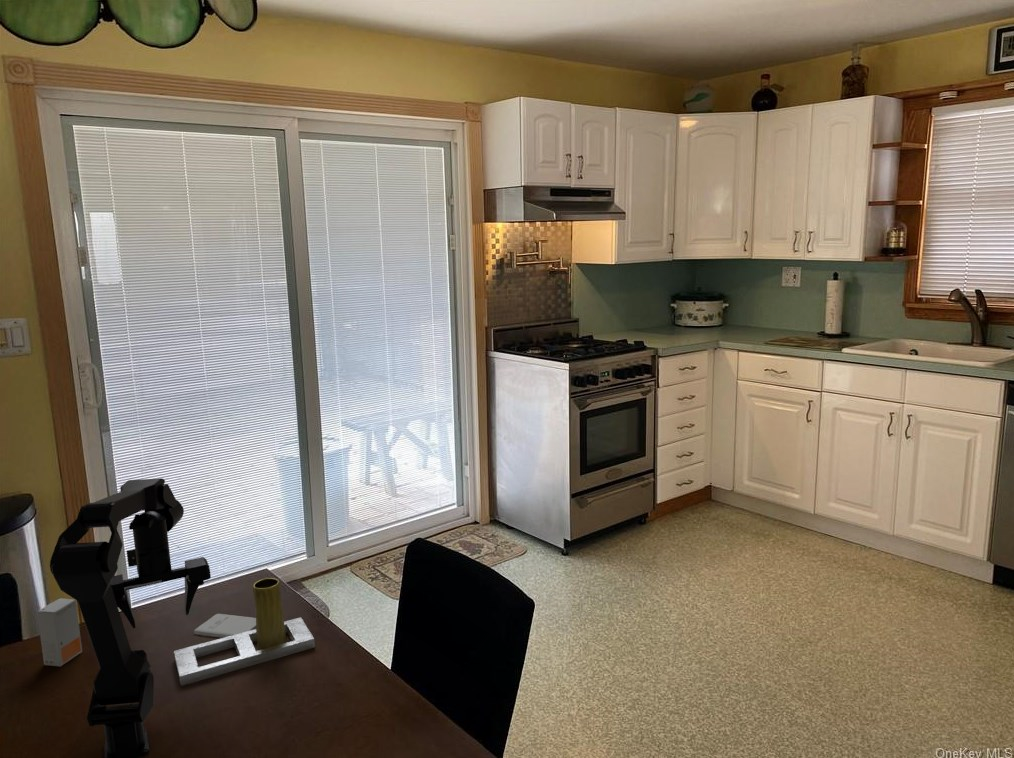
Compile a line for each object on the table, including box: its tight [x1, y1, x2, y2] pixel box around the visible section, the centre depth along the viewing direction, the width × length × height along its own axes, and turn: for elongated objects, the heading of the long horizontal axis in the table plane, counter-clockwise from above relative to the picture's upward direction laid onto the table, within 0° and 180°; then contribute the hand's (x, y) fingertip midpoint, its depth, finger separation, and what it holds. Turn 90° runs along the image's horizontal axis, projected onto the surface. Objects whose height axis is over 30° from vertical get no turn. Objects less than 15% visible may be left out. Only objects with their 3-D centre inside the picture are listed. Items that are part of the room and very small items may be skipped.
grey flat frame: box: [173, 616, 316, 687], centre depth 153 cm, size 11×26×2 cm, turn 120°
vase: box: [252, 577, 288, 651], centre depth 154 cm, size 6×6×14 cm
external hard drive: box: [193, 613, 256, 639], centre depth 164 cm, size 2×8×12 cm
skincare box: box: [36, 598, 83, 667], centre depth 152 cm, size 6×4×12 cm
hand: (161, 620), depth 141 cm, fingers open, 9 cm apart
